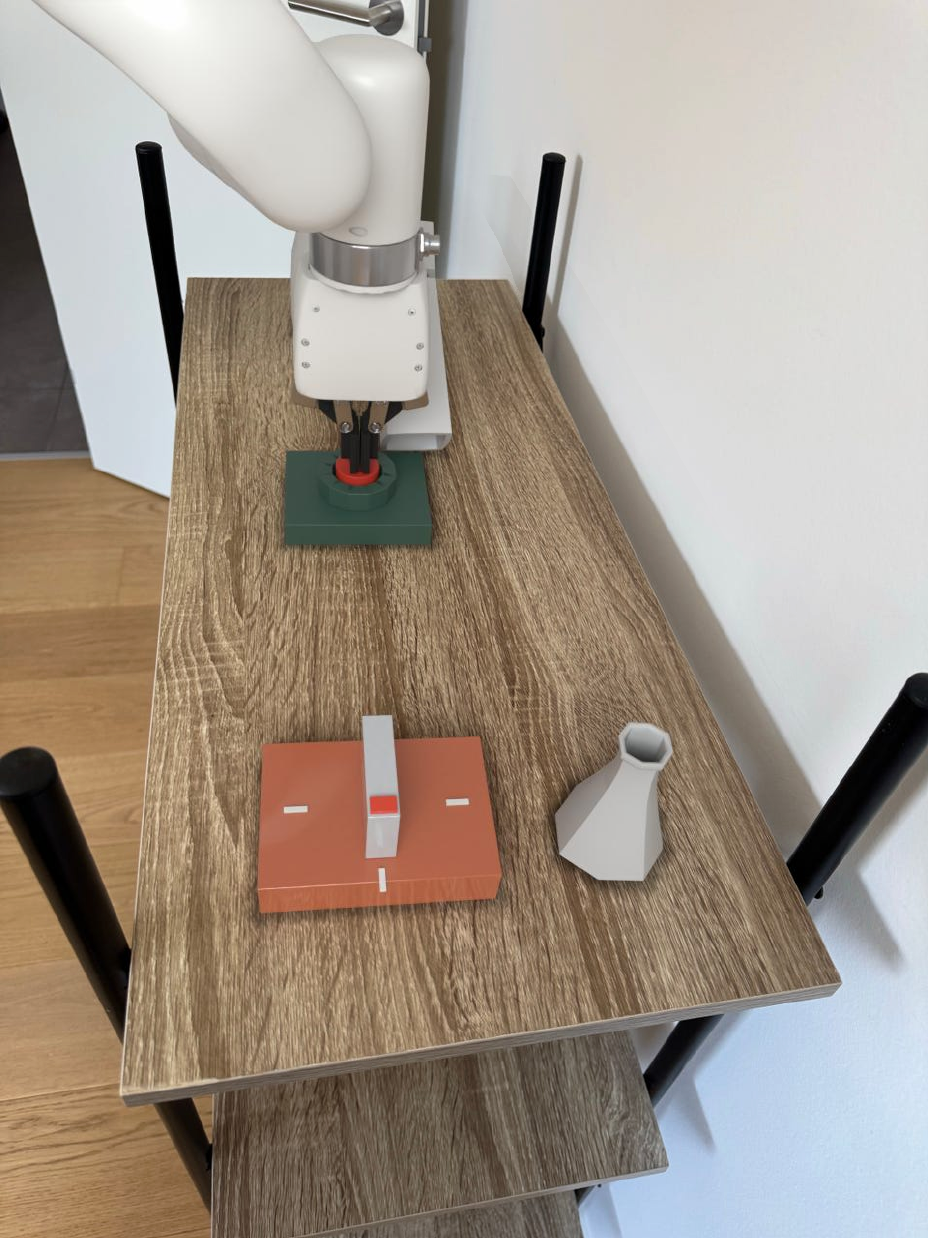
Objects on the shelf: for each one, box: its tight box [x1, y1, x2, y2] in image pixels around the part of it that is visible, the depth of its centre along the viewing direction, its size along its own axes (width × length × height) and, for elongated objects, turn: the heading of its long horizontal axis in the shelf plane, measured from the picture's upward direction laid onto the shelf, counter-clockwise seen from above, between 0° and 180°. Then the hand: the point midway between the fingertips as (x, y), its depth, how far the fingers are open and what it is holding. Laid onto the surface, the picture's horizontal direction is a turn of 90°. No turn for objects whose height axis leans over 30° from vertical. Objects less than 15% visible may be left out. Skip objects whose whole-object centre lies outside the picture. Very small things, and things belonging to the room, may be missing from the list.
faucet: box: [379, 220, 453, 452], centre depth 88 cm, size 6×16×20 cm
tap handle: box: [360, 714, 400, 858], centre depth 54 cm, size 7×2×5 cm, turn 7°
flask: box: [554, 721, 674, 882], centre depth 56 cm, size 7×7×10 cm
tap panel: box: [256, 735, 503, 914], centre depth 56 cm, size 14×11×3 cm
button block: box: [284, 447, 433, 546], centre depth 78 cm, size 12×10×4 cm
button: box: [336, 456, 379, 485], centre depth 77 cm, size 4×4×2 cm
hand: (358, 463), depth 76 cm, fingers closed
